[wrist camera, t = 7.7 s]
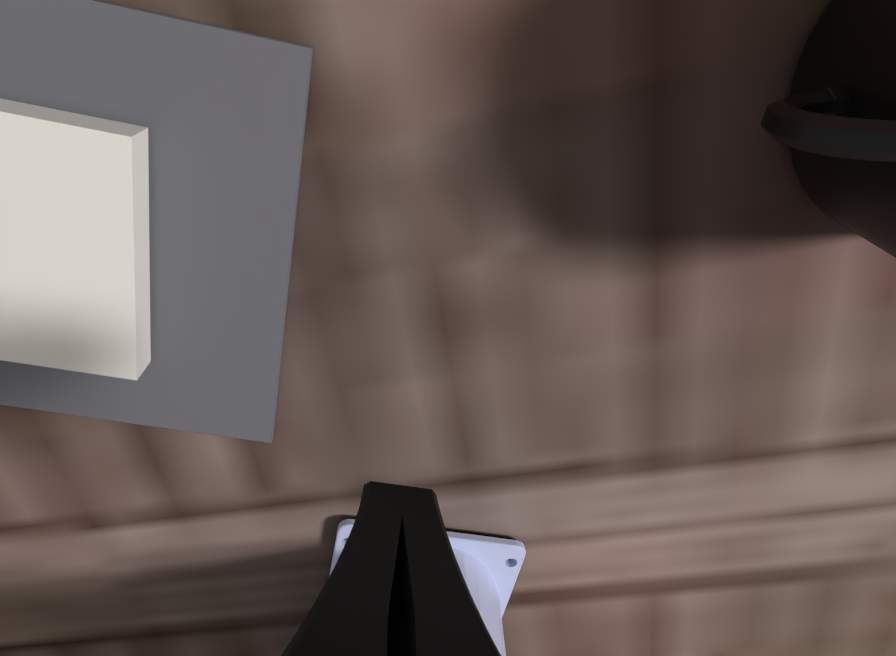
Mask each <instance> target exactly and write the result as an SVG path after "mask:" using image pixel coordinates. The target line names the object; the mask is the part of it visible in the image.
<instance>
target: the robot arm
mask: <svg viewBox="0 0 896 656" xmlns="http://www.w3.org/2000/svg"><path fill="white" fill-rule="evenodd" d="M345 538H348V539H345ZM525 554H526V551H525V546H524V544H523V543H522V542H521V541H517V540H511V539H504V538H496V537H488V536H480V535H473V534H465V533H457V532H449V531H446V529H445V526H444V523H443V519H442V516H441V513H440V509H439V505H438V501H437V497H436V494H435V493H434V491H433V490H432V489H424V488H417V487H409V486H402V485H394V484H387V483H380V482H372V481H370V482H369V483H367V484H365V485H364V488H363V493H362V498H361V503H360V507H359V511H358V514H357V516H356V519H346V520H343V521H341V522H340V523H339V525H338V529H337V535H336V540H335V546H334V552H333V557H332V563H331V569H330V574H329V578H328V580H327V582H326V584H325V585H324V587H323V589H322V591H321V593H320V594H319V596H318V598H317V600H316V602H315V603H314V605H313V607H312V609H311V610H310V612H309V613H308V615H307V617H306V618H305V620H304V622H303V623H302V625H301V626H300V628H299V630H298V631H297V633H296V634H295V636H294V637H293V639H292V640H291V642H290V643H289V645H288V646H287V648H286V649H285V651H284V652H283V654H282V655H281V656H506V652H505V644H504V635H503V627H502V616H503V613H504V611H505V608H506V605H507V603H508V600H509V597H510V595H511V592H512V589H513V587H514V584H515V581H516V579H517V576H518V574H519V571H520V568H521V566H522V563H523V560H524V558H525ZM508 559H512V560H508Z"/></svg>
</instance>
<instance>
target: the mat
mask: <svg viewBox="0 0 896 656" xmlns="http://www.w3.org/2000/svg"><path fill="white" fill-rule="evenodd" d="M312 54H313V47H312V46H307V45H302V44H298V43H293V42H289V41H284V40H280V39H275V38H271V37H266V36H261V35H257V34H252V33H248V32H243V31H239V30H234V29H230V28H225V27H220V26H216V25H211V24H207V23H202V22H198V21H193V20H189V19H184V18H179V17H175V16H170V15H166V14H161V13H157V12H152V11H148V10H143V9H138V8H134V7H129V6H125V5H120V4H116V3H111V2H107V1H102V0H0V98H1V99H6V100H11V101H16V102H21V103H26V104H32V105H37V106H42V107H47V108H52V109H57V110H62V111H67V112H72V113H77V114H82V115H87V116H92V117H97V118H102V119H108V120H113V121H118V122H123V123H128V124H133V125H138V126H143V127H148V158H149V249H150V340H151V362H150V363H149V364H148V366H147V367H146V369H145V370H144V372H143V373H142V374H141V376H140V377H139V379H138V380H130V379H123V378H117V377H110V376H103V375H97V374H90V373H83V372H76V371H70V370H63V369H56V368H50V367H43V366H36V365H30V364H23V363H16V362H10V361H3V360H0V405H6V406H13V407H20V408H27V409H34V410H41V411H48V412H55V413H62V414H70V415H77V416H84V417H91V418H98V419H105V420H112V421H119V422H126V423H133V424H140V425H147V426H154V427H162V428H169V429H176V430H183V431H190V432H197V433H204V434H211V435H218V436H225V437H232V438H239V439H247V440H254V441H261V442H268V443H271V442H272V439H273V436H274V427H275V417H276V407H277V397H278V387H279V378H280V368H281V358H282V348H283V338H284V329H285V319H286V309H287V299H288V289H289V280H290V270H291V260H292V250H293V240H294V231H295V221H296V211H297V201H298V191H299V182H300V172H301V162H302V152H303V142H304V133H305V123H306V113H307V103H308V93H309V84H310V74H311V64H312Z"/></svg>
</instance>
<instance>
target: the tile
mask: <svg viewBox="0 0 896 656" xmlns="http://www.w3.org/2000/svg"><path fill="white" fill-rule="evenodd" d="M0 360H3V361H10V362H16V363H23V364H30V365H36V366H43V367H50V368H56V369H63V370H70V371H76V372H83V373H90V374H97V375H103V376H110V377H117V378H123V379H130V380H138V379H139V377H140V376H141V374H142V373H143V372H144V370H145V369H146V367H147V366H148V364H149V363H150V362H151V340H150V249H149V158H148V127H143V126H138V125H133V124H128V123H123V122H118V121H113V120H108V119H102V118H97V117H92V116H87V115H82V114H77V113H72V112H67V111H62V110H57V109H52V108H47V107H42V106H37V105H32V104H26V103H21V102H16V101H11V100H6V99H1V98H0Z"/></svg>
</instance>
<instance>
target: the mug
mask: <svg viewBox="0 0 896 656" xmlns="http://www.w3.org/2000/svg"><path fill="white" fill-rule="evenodd" d="M761 126H762V127H763V128H764V129H765V130H766V131H767V132H768V134H769V135H770V136H771V137H772V138H773V139H774V140H776V141H777V142H779V143H781V144H783V145H786V146H789V147H790V151H791V156H792V161H793V164H794V168H795V170H796V173H797V175H798V178H799V180H800V183H801V185H802V186H803V188H804V189H805V191H806V192H807V194H808V195H809V197H810V198H811V199H812V201H813V202H814V203H815V204H816V205H817V206H818V207H819V208H820V209H821V210H822V211H823V212H824V213H825V214H826V215H828V216H829V217H831V218H832V219H834V220H835V221H837V222H838V223H840V224H842V225H843V226H845V227H846V228H848V229H850V230H851V231H853V232H855V233H856V234H858V235H860V236H861V237H863V238H864V239H866V240H868V241H869V242H871V243H873V244H874V245H876V246H878V247H879V248H881V249H882V250H884V251H886V252H887V253H889V254H891V255H892V256H894V257H895V258H896V0H832V1H831V3H830V4H829V5H828V7H827V8H826V10H825V11H824V13H823V14H822V16H821V18H820V20H819V21H818V23H817V25H816V26H815V28H814V30H813V32H812V33H811V35H810V37H809V39H808V42H807V44H806V46H805V49H804V51H803V53H802V55H801V58H800V60H799V63H798V66H797V69H796V73H795V76H794V80H793V83H792V87H791V92H790V97H787V98H784V99H781V100H778V101H776V102H773V103H771V104H770V105H769V106H768V107H767V109H766V111H765V114H764V117H763V119H762V122H761Z"/></svg>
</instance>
